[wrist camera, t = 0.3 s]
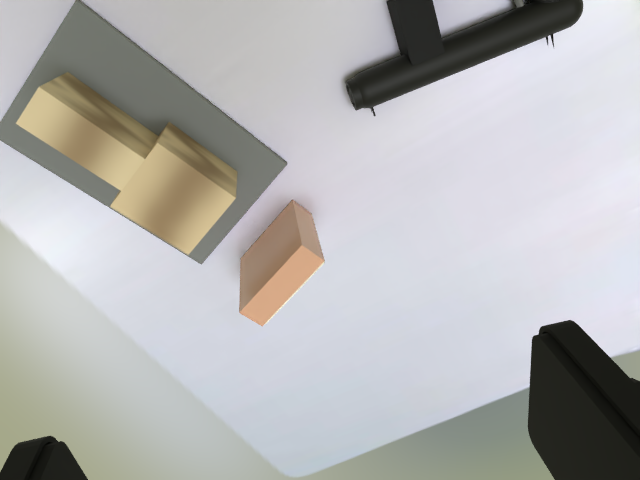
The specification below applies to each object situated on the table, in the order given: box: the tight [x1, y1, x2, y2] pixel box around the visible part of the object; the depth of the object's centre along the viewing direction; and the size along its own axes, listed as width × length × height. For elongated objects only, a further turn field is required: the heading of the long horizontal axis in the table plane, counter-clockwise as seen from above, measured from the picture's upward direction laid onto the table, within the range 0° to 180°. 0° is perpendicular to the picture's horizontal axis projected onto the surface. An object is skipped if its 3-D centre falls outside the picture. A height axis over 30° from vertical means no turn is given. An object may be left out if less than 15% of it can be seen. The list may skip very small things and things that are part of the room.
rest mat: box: [0, 0, 287, 264], centre depth 42 cm, size 20×13×1 cm, turn 49°
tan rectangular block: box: [239, 200, 325, 326], centre depth 44 cm, size 3×8×9 cm, turn 139°
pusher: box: [16, 72, 237, 255], centre depth 39 cm, size 15×6×6 cm, turn 49°
